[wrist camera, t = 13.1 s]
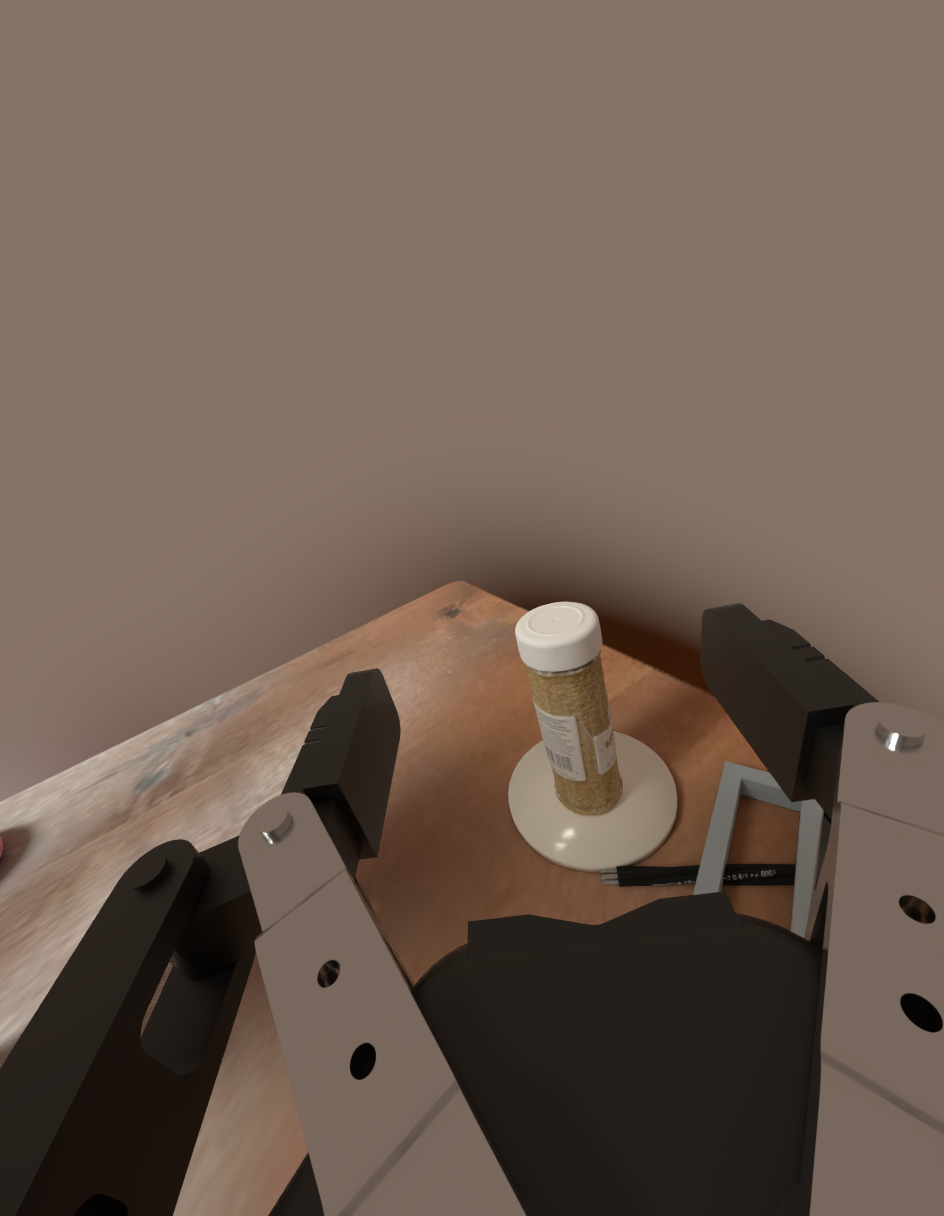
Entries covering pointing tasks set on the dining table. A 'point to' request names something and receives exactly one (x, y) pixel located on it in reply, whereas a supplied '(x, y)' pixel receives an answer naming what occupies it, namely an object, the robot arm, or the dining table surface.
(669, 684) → the dining table surface
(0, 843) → the donut
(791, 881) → the black marker pen
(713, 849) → the grey u-shaped piece
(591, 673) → the sprinkles bottle
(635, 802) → the coaster
